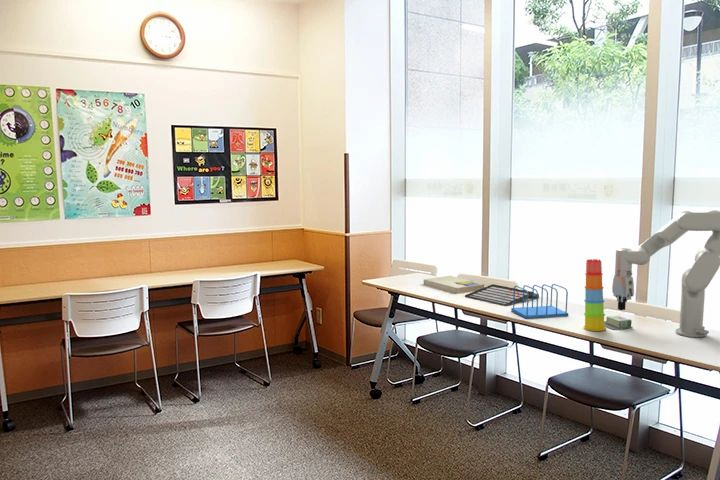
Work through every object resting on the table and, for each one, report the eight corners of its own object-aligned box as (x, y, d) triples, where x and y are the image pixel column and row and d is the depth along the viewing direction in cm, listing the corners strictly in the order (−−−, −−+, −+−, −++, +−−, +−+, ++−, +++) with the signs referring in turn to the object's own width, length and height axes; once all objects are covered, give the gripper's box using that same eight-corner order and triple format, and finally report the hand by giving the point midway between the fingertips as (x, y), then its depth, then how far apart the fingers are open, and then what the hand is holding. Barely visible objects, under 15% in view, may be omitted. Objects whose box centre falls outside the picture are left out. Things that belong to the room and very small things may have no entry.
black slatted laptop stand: (506, 315, 334) (539, 300, 353) (506, 304, 333) (539, 290, 351) (465, 303, 359) (497, 290, 378) (464, 292, 358) (497, 279, 376)
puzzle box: (450, 281, 410) (422, 285, 398) (450, 275, 409) (422, 278, 397) (484, 290, 378) (456, 294, 367) (485, 284, 378) (456, 287, 366)
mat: (632, 327, 286) (632, 327, 286) (613, 330, 282) (613, 329, 282) (613, 321, 298) (613, 320, 298) (594, 323, 294) (594, 322, 294)
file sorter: (525, 319, 305) (526, 290, 303) (511, 311, 322) (511, 284, 320) (568, 316, 310) (569, 288, 308) (551, 308, 327) (552, 282, 325)
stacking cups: (592, 332, 278) (595, 262, 274) (578, 327, 288) (581, 259, 284) (610, 330, 281) (613, 260, 277) (596, 325, 291) (599, 257, 287)
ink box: (620, 321, 282) (601, 314, 295) (619, 328, 283) (601, 322, 296) (631, 319, 284) (612, 313, 297) (631, 327, 285) (612, 321, 298)
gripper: (641, 275, 278) (639, 312, 280) (618, 270, 292) (616, 305, 294) (628, 276, 275) (626, 313, 277) (606, 271, 289) (604, 306, 291)
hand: (621, 309), depth 286 cm, fingers closed
